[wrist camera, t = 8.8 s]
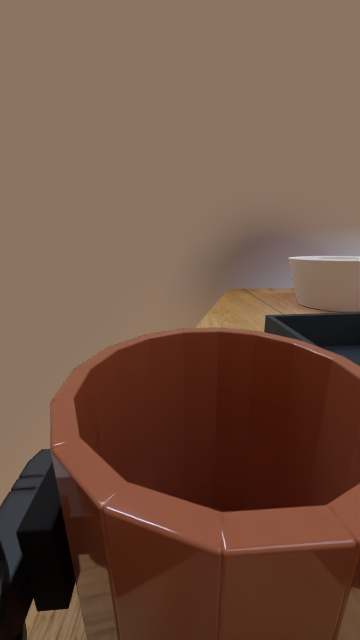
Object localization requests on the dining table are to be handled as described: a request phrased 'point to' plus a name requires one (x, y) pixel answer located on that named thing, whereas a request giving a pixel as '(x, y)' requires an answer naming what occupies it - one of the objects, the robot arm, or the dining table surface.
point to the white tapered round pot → (327, 282)
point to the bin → (321, 331)
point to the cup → (212, 487)
